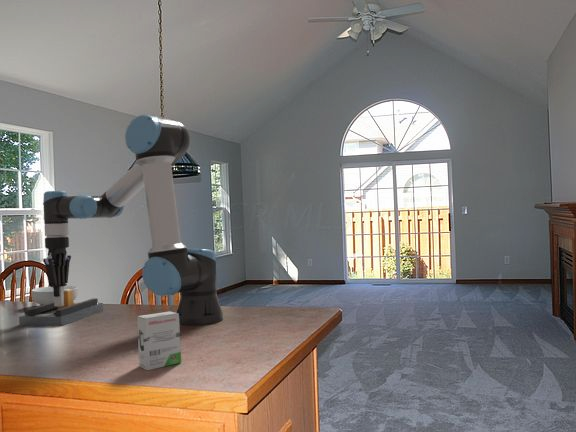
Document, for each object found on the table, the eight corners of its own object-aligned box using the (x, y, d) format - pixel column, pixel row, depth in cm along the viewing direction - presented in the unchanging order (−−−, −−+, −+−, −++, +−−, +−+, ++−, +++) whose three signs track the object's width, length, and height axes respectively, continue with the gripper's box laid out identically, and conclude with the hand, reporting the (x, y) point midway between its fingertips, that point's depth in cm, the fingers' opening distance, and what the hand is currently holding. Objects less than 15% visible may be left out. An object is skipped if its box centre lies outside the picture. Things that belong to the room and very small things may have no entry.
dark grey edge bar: (70, 303, 202) (69, 298, 202) (29, 315, 179) (29, 310, 179) (65, 303, 202) (65, 298, 202) (25, 315, 179) (24, 310, 179)
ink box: (172, 359, 132) (171, 310, 132) (182, 363, 128) (180, 312, 128) (138, 366, 127) (136, 315, 126) (146, 371, 123) (144, 318, 122)
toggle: (73, 307, 192) (72, 289, 192) (68, 308, 189) (67, 290, 189) (62, 307, 193) (62, 289, 193) (57, 308, 190) (57, 290, 190)
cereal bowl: (62, 310, 205) (61, 291, 205) (22, 310, 208) (21, 291, 208) (86, 302, 222) (86, 285, 222) (49, 302, 225) (48, 285, 225)
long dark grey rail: (97, 303, 200) (97, 298, 200) (60, 315, 177) (60, 310, 177) (93, 303, 200) (92, 298, 200) (55, 315, 177) (55, 310, 177)
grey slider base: (102, 310, 201) (102, 301, 201) (61, 326, 175) (61, 314, 175) (65, 310, 204) (65, 301, 204) (19, 325, 178) (18, 314, 178)
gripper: (57, 235, 194) (60, 302, 194) (34, 237, 181) (37, 309, 181) (77, 235, 193) (79, 302, 193) (55, 237, 180) (58, 309, 180)
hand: (59, 305), depth 187 cm, fingers closed
